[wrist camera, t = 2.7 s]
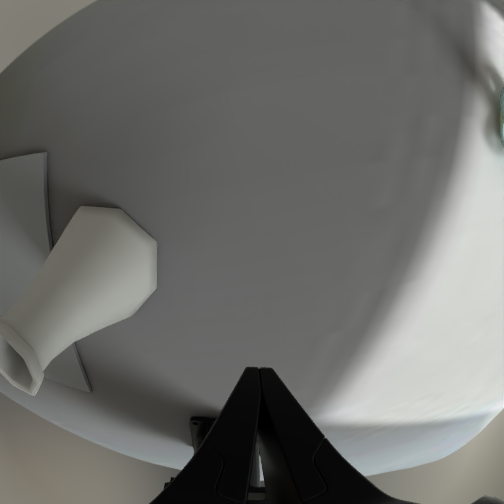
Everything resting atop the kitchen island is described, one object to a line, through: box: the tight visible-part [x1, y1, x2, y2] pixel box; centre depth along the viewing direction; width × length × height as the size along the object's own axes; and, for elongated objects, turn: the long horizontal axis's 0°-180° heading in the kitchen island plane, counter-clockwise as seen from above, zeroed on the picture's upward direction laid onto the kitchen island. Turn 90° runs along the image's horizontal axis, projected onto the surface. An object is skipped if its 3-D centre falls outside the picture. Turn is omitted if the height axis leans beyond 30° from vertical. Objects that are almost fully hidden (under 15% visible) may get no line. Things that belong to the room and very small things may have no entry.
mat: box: [0, 152, 92, 393], centre depth 16 cm, size 20×13×1 cm, turn 175°
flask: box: [0, 206, 157, 396], centre depth 11 cm, size 7×7×10 cm
